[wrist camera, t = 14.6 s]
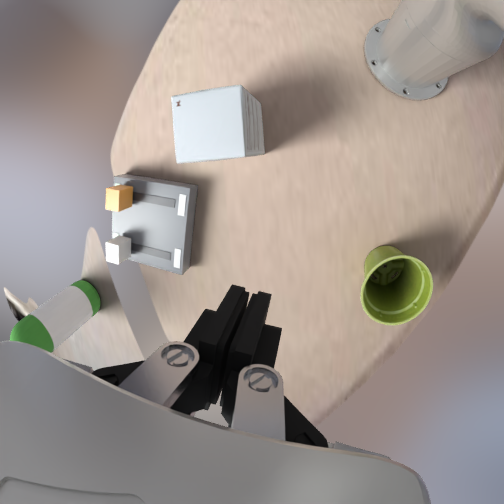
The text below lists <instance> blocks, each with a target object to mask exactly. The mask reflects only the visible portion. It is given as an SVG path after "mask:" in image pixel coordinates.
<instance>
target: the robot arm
mask: <svg viewBox="0 0 504 504" xmlns="http://www.w3.org/2000/svg"><path fill="white" fill-rule="evenodd" d="M376 31H378V32H376ZM503 37H504V0H402V1H401V2H400V4H399V6H398V7H397V9H396V11H395V12H394V14H393V16H392V17H391V19H386V20H383V21H380V22H379V23H377V24H375V25H374V26H373V27H372V28H371V29H370V31H369V33H368V34H367V37H366V39H365V44H364V53H365V58H366V62H367V64H368V66H369V68H370V71H371V72H372V74H373V75H374V76H375V78H376V79H377V80H378V81H379V82H380V83H381V84H382V85H383V86H384V87H385V88H387V89H388V90H389V91H391V92H392V93H394V94H396V95H398V96H400V97H403V98H405V99H410V100H425V99H429V98H432V97H434V96H436V95H437V94H439V93H440V92H441V91H442V90H443V89H444V87H445V85H446V84H447V81H448V77H449V76H451V75H453V74H455V73H457V72H459V71H461V70H463V69H466V68H468V67H470V66H472V65H474V64H477V63H479V62H481V61H483V60H486V59H488V58H490V57H491V56H493V55H494V54H495V53H496V52H497V51H498V49H499V47H500V45H501V43H502V41H503ZM372 63H374V64H375V65H372ZM436 85H437V86H438V88H437V86H436ZM403 91H405V94H404V93H403ZM248 297H249V292H246V291H245V288H244V287H240V286H236V285H232V286H231V287H230V289H229V291H228V292H227V294H226V296H225V297H224V299H223V301H222V302H221V304H220V306H219V308H218V309H217V311H213V310H209V309H205V310H204V312H203V313H202V315H201V316H200V318H199V319H198V321H197V322H196V324H195V325H194V327H193V328H192V330H191V331H190V333H189V334H188V336H187V337H186V339H185V340H184V342H178V341H174V342H168V343H165V344H163V345H162V346H160V347H159V348H158V349H157V350H156V351H155V352H154V353H153V354H152V355H151V356H150V357H149V358H147V359H146V360H145V361H139V362H134V363H129V364H123V365H117V366H111V367H105V368H101V369H97V370H96V371H93V369H92V367H89V366H86V365H82V364H79V363H75V362H72V361H69V360H66V359H62V358H60V357H58V356H56V355H54V354H52V353H50V352H48V351H46V350H43V349H41V348H39V347H36V346H33V345H30V344H28V343H23V342H18V341H3V342H0V504H431V500H430V497H429V493H428V490H427V487H426V485H425V483H424V481H423V479H422V478H421V476H420V475H419V474H418V473H417V472H415V471H414V470H413V469H411V468H409V467H407V466H405V465H403V464H401V463H398V462H395V461H393V460H391V459H390V458H389V457H387V456H384V455H382V454H378V453H374V452H370V451H366V450H363V449H359V448H356V447H352V446H349V445H346V444H342V443H339V442H335V443H334V444H332V443H329V442H327V440H326V439H325V437H324V436H323V435H322V434H321V433H320V432H319V431H318V430H317V429H316V428H315V427H314V426H313V425H312V424H311V423H310V422H309V421H308V420H307V419H306V418H305V417H304V416H303V415H302V414H301V413H300V412H299V411H298V409H297V408H296V407H295V406H294V405H293V404H292V403H291V402H290V401H289V400H288V399H287V398H286V397H285V396H284V388H283V379H282V376H281V375H280V374H279V372H277V371H276V370H275V369H274V365H275V360H276V356H277V351H278V346H279V341H280V336H281V331H282V328H279V327H275V326H271V325H266V324H265V320H266V316H267V312H268V308H269V303H270V299H271V294H269V293H264V292H260V291H259V292H258V294H254V293H253V294H252V296H251V299H250V301H249V304H248V306H247V302H248ZM221 391H222V394H221V401H220V406H222V413H221V414H222V415H223V417H224V418H225V420H226V421H227V423H228V427H225V426H221V425H218V424H215V423H211V422H208V421H204V420H201V419H198V418H195V417H194V415H195V412H196V411H199V410H202V409H205V410H208V409H209V407H210V404H211V403H212V404H216V403H217V401H218V398H219V396H220V393H221Z"/></svg>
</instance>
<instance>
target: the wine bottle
mask: <svg viewBox="0 0 504 504" xmlns="http://www.w3.org/2000/svg"><path fill="white" fill-rule="evenodd" d="M99 308H100V298H99V295H98V293H97V291H96V289H95V288H94V287H93V286H92V285H91V284H90V283H88V282H86V281H83V280H79V281H77V282H75V283H73V284H72V285H70V286H69V287H67V288H65V289H64V290H62V291H61V292H60V293H58V294H57V295H55V296H54V297H52V298H51V299H50V300H48V301H47V302H45V303H44V304H42V305H41V306H40V307H38V308H37V309H35V310H34V311H33V312H31V313H30V314H28V315H27V316H26V317H25V318H23V319H22V320H21V321H19V322H18V323H17V324H16V325H15V326H14V328H13V330H12V332H11V336H10V341H18V342H23V343H28V344H30V345H33V346H36V347H39V348H41V349H43V350H46V351H48V352H50V353H51V352H53V351H54V350H55V349H56V348H57V347H58V346H59V345H61V344H62V343H63V342H64V341H65V340H66V339H67V338H68V337H70V336H71V335H72V334H73V333H74V332H75V331H76V330H78V329H79V328H80V327H81V326H82V325H83V324H84V323H86V322H87V321H88V320H89V319H90V318H91V317H92V316H94V315H95V314H96V313H97V312H98V310H99Z"/></svg>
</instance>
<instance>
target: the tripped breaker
mask: <svg viewBox="0 0 504 504" xmlns="http://www.w3.org/2000/svg"><path fill="white" fill-rule="evenodd" d="M132 199H133V187H132V186H126V185H117V186H113V187H109V188H106V209H107V210H112V211H116V212H120V211H122V210H125V209H127V208H130V207H132Z"/></svg>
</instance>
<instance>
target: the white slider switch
mask: <svg viewBox="0 0 504 504" xmlns="http://www.w3.org/2000/svg"><path fill="white" fill-rule="evenodd" d="M129 257H131V238H128V237H124V236H120V235H119V236H117V237H115V238H113V239H111V240H109V241H108V242H106V261H109V262H112V263H115V264H120V263H122V262H123V261H125V260H126V259H128V258H129Z"/></svg>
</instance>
